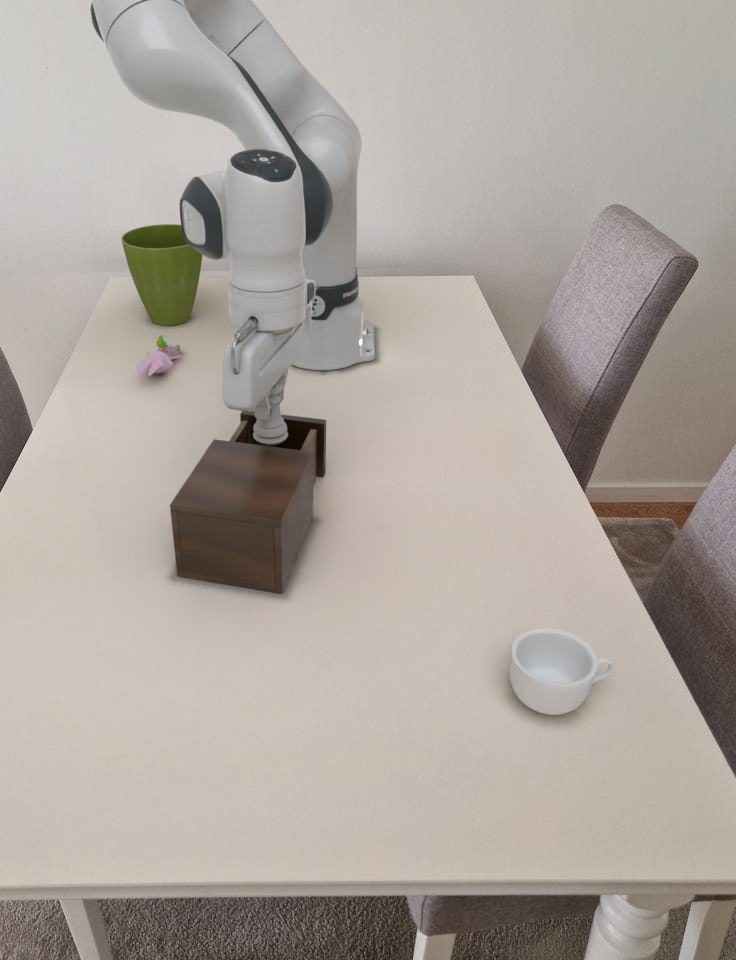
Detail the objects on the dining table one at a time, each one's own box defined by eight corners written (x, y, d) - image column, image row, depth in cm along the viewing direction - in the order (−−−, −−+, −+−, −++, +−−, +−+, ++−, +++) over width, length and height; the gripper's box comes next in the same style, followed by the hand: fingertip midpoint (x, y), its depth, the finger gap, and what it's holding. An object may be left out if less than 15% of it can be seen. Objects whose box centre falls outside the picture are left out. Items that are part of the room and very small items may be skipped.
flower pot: (132, 305, 168) (123, 225, 159) (207, 301, 169) (202, 222, 161) (129, 335, 156) (118, 250, 147) (210, 331, 157) (204, 246, 148)
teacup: (517, 730, 78) (526, 689, 75) (494, 669, 85) (501, 629, 82) (622, 722, 79) (634, 681, 76) (591, 662, 85) (601, 623, 82)
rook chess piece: (245, 436, 107) (243, 380, 102) (273, 425, 109) (272, 369, 105) (267, 451, 104) (265, 393, 100) (295, 439, 106) (295, 382, 102)
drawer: (255, 445, 120) (253, 393, 116) (333, 455, 118) (334, 403, 113) (212, 517, 106) (208, 461, 101) (300, 531, 103) (300, 474, 98)
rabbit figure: (156, 359, 150) (126, 383, 137) (154, 326, 148) (124, 347, 134) (190, 361, 149) (164, 386, 136) (189, 328, 147) (162, 350, 133)
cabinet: (218, 506, 109) (213, 438, 104) (312, 520, 106) (313, 451, 101) (177, 576, 98) (169, 504, 92) (282, 594, 95) (280, 521, 89)
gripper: (259, 342, 88) (263, 455, 95) (320, 277, 104) (319, 378, 111) (204, 334, 90) (211, 446, 97) (272, 271, 106) (274, 371, 113)
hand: (269, 409), depth 104 cm, fingers closed on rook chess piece, 3 cm apart
